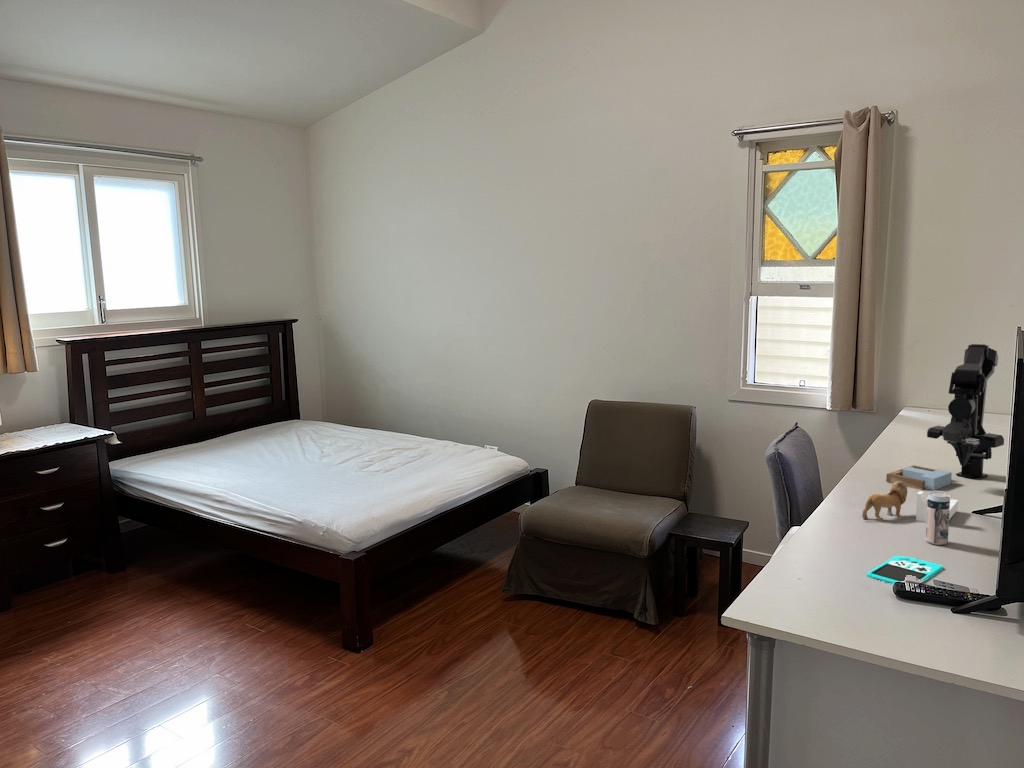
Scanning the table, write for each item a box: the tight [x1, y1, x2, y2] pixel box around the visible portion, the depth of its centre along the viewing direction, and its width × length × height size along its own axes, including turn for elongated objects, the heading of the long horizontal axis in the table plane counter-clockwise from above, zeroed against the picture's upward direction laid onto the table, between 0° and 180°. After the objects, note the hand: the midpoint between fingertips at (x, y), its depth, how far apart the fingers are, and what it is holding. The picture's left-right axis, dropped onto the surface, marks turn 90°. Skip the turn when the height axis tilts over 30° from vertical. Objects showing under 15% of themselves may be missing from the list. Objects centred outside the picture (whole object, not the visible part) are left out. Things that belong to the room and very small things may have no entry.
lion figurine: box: [861, 481, 908, 522], centre depth 199 cm, size 15×5×9 cm, turn 114°
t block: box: [902, 466, 953, 491], centre depth 227 cm, size 10×11×4 cm
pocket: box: [885, 465, 937, 491], centre depth 229 cm, size 15×11×2 cm
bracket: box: [915, 490, 959, 523], centre depth 198 cm, size 13×7×8 cm, turn 139°
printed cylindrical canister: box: [925, 491, 951, 546], centre depth 180 cm, size 5×5×12 cm
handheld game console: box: [865, 555, 944, 585], centre depth 165 cm, size 10×16×1 cm, turn 129°
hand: (962, 465), depth 217 cm, fingers closed
